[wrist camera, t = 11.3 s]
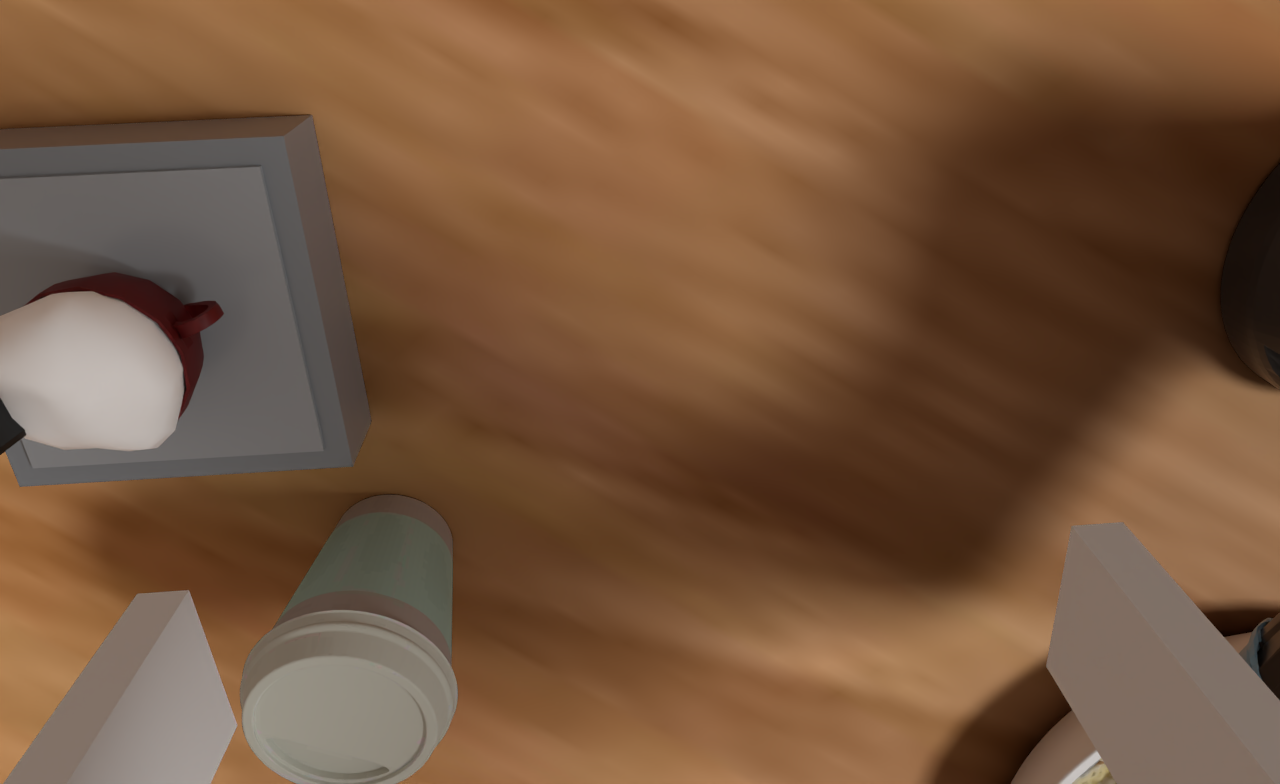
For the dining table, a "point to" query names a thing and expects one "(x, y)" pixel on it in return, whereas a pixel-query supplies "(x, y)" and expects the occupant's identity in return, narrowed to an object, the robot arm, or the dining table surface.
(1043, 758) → the bowl
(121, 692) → the robot arm
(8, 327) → the cocoa
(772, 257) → the dining table surface
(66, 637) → the dining table surface
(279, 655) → the coffee cup
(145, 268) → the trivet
